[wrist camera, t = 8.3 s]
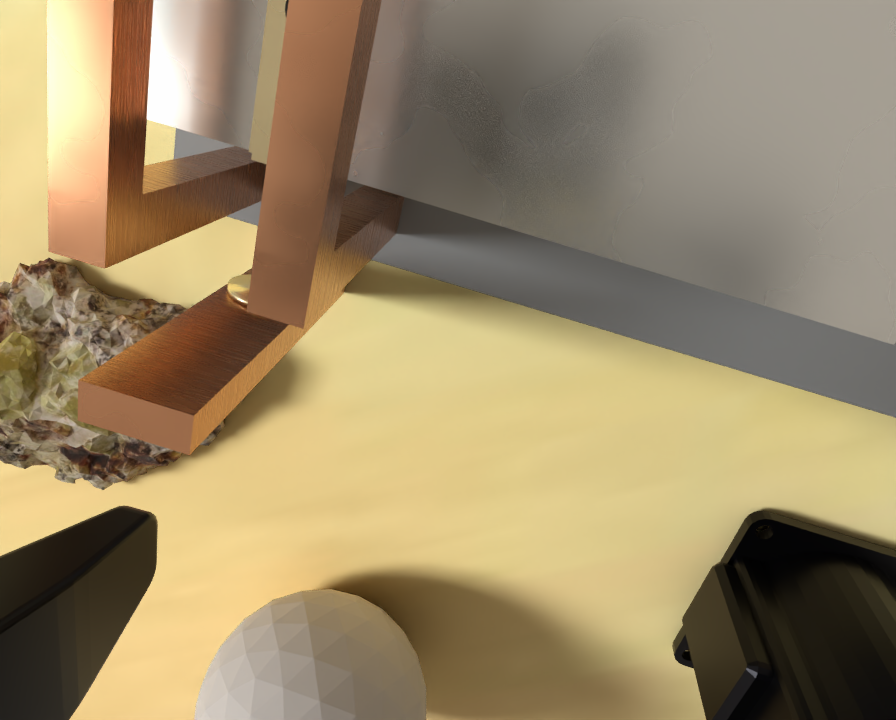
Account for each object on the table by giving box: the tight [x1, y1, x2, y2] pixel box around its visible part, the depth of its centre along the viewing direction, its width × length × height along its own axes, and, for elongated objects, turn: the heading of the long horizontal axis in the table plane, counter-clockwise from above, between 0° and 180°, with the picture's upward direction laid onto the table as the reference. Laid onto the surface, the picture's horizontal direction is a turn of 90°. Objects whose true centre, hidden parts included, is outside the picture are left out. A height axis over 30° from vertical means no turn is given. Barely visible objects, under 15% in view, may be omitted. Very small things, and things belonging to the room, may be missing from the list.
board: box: [174, 128, 896, 417], centre depth 16 cm, size 22×11×1 cm, turn 76°
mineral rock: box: [0, 258, 244, 490], centre depth 21 cm, size 11×4×8 cm
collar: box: [246, 0, 405, 329], centre depth 12 cm, size 1×9×7 cm, turn 165°
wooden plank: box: [78, 268, 345, 455], centre depth 15 cm, size 2×1×9 cm, turn 76°
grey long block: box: [147, 0, 896, 345], centre depth 13 cm, size 15×5×5 cm, turn 75°
